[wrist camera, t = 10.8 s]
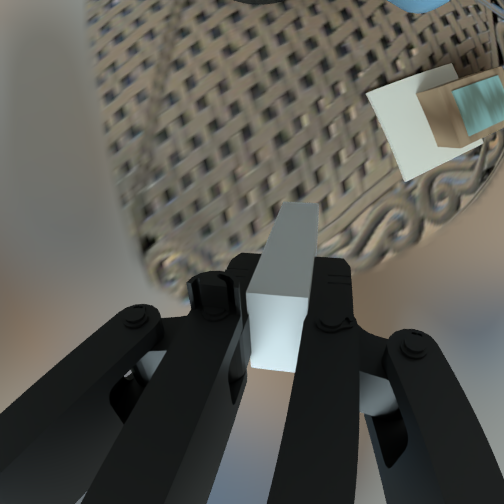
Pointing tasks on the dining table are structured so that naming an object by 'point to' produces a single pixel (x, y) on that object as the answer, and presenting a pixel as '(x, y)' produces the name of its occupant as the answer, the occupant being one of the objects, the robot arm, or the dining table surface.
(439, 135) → the tan box
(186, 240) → the dining table surface
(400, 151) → the rubber mat
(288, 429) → the robot arm
